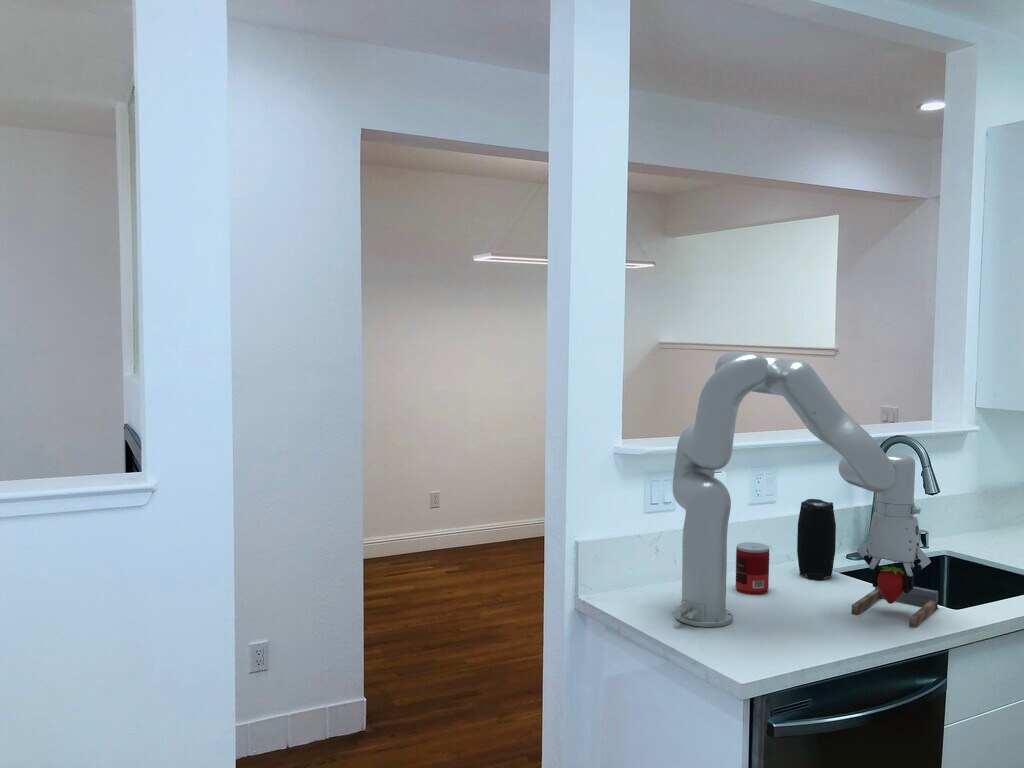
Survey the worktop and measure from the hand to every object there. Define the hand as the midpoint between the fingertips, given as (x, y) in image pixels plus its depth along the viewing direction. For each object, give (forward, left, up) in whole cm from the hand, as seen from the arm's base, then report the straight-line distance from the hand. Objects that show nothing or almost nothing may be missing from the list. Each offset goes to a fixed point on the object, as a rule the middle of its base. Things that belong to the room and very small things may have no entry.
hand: (891, 588), depth 186 cm
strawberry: (0, 0, -4) cm, 4 cm away
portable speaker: (+17, +24, -6) cm, 30 cm away
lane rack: (+2, 0, -6) cm, 6 cm away
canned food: (-5, +31, -6) cm, 32 cm away
